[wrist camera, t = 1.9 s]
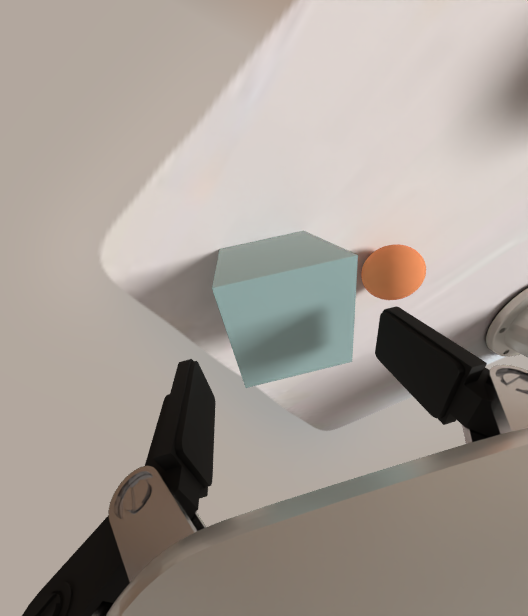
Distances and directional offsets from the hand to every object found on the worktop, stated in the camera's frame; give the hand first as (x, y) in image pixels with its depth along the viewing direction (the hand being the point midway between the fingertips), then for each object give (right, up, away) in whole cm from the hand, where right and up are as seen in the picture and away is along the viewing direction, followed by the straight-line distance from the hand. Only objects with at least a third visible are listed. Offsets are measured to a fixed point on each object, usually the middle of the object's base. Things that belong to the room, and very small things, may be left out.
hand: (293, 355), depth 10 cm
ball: (+10, +6, +8) cm, 14 cm away
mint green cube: (-1, +5, +10) cm, 11 cm away
